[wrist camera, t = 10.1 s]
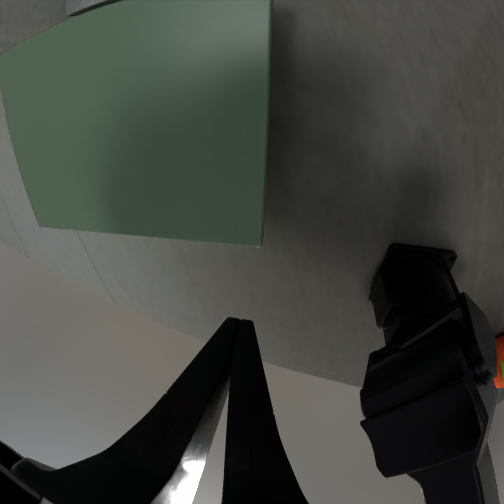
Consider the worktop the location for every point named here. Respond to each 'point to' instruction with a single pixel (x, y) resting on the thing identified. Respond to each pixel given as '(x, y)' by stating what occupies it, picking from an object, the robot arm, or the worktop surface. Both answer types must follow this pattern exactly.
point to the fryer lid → (146, 119)
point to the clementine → (500, 362)
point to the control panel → (84, 6)
